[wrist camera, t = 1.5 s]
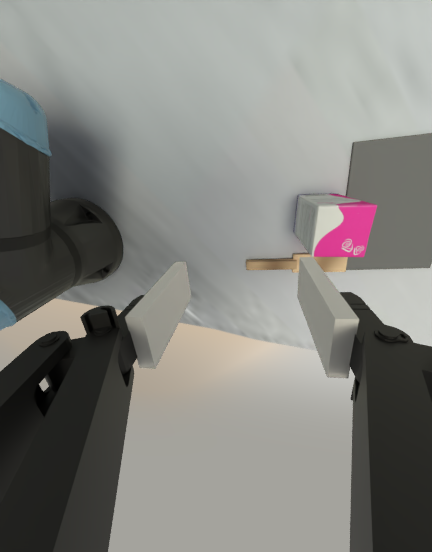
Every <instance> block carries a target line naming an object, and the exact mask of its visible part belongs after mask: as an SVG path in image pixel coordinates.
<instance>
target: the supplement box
mask: <svg viewBox="0 0 432 552" xmlns="http://www.w3.org/2000/svg"><path fill="white" fill-rule="evenodd" d="M376 209H377V205H375V204H372V203H368V202H365V201H361V200H357V199H353V198H350V197H346V196H342V195H339V194H303V195H298V198H297V208H296V216H295V225H294V233H295V234H296V236H297V237H298V239H299V240H300V241H301V243H302V244H303V245H304V247H305V248H306V250H307V251H308V252H309V254H310V255H311V256H312V257H364V255H365V252H366V248H367V243H368V239H369V235H370V231H371V227H372V224H373V220H374V216H375V213H376Z"/></svg>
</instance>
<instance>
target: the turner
mask: <svg viewBox="0 0 432 552" xmlns="http://www.w3.org/2000/svg"><path fill="white" fill-rule="evenodd" d="M300 257H312V256H311V255H310V254H309V253H307V254H293V259H256V260H247V261H246V267H247V270H277V269H292V272H299V260H300ZM313 258H314V259H315V260H316V262H317V263H318V265H319V266H320V267H321V269H322V270H323V271H324V272H346V265H347V259H348V257H313Z"/></svg>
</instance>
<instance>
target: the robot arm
mask: <svg viewBox="0 0 432 552" xmlns="http://www.w3.org/2000/svg"><path fill="white" fill-rule="evenodd" d="M49 156H50V157H51V151H50V150H49V142H48V130H47V119H46V116H45V113H44V111H43V109H42V108H41V106H40V105H39V104H38V102H37V101H36V100H35V99H34V98H32V97H31V96H30V95H29V94H27V93H26V92H24V91H22V90H20V89H19V88H17V87H15V86H13V85H11V84H9V83H7V82H6V81H4V80H2V79H0V330H2V329H3V328H5V327H9V326H12V325H14V324H15V323H16V322H18V321H19V320H21V319H22V318H24V317H26V316H27V315H29V314H30V313H32V312H33V311H35V310H37V309H38V308H40V307H41V306H43V305H44V304H46V303H47V302H49V301H51V300H52V299H54V298H55V297H57V296H59V295H60V294H62V293H63V292H65V291H66V290H68V289H69V288H71V287H73V286H78V285H84V284H89V283H94V282H98V281H101V280H103V279H105V278H106V277H108V276H109V275H111V274H112V273H113V272H114V271H115V270H116V269H117V268H118V267H119V265H120V263H121V260H122V255H123V245H122V239H121V236H120V233H119V231H118V229H117V227H116V225H115V224H114V222H113V221H112V219H111V218H110V217H109V216H108V215H107V214H106V213H105V212H104V211H103V210H102V209H101V208H99V207H98V206H97V205H95V204H93V203H91V202H89V201H86V200H83V199H79V198H67V199H59V200H55V201H53V202H50V172H49ZM297 297H298V300H299V302H300V305H301V308H302V310H303V313H304V316H305V318H306V321H307V324H308V327H309V329H310V332H311V335H312V337H313V340H314V343H315V345H316V348H317V351H318V353H319V356H320V359H321V362H322V364H323V367H324V370H325V372H326V375H327V377H334V378H348V376H349V371H350V367H351V369H352V371H353V373H354V375H355V380H354V385H353V390H352V395H351V400H353V430H352V475H351V476H352V477H351V478H352V479H351V522H350V552H432V347H431V346H426V345H421V344H417V343H413V341H412V339H411V338H410V336H409V335H407V334H406V333H405V332H403V331H401V330H399V329H397V328H395V327H391V326H387V325H384V324H383V323H382V321H381V320H380V319H379V318H378V317H377V316H376V315H375V314H374V312H373V311H372V310H370V308H369V307H368V306H367V305H366V303H365V302H364V301H363V300H362V299H361V298H360V297H358V296H357V295H355V294H353V293H351V292H339V291H338V290H337V289H336V287H335V286H334V285H333V283H332V282H331V281H330V279H329V278H328V277H327V275H326V274H325V273H324V271H323V270H322V269H321V267H320V266H319V265H318V263H317V262H316V260H315V259H314V258H313V257H300V260H299V278H298V295H297ZM190 299H191V291H190V284H189V278H188V271H187V265H186V262H175V263H174V264H173V265H172V266H171V267H170V268H169V269H168V270H167V271H166V273H165V274H164V275H163V276H162V277H161V278H160V279H159V280H158V281H157V282H156V284H155V285H154V286H153V287H152V288H151V289H150V290H149V291H148V292H147V293H146V295H141V296H139V297H137V298H136V299H134V300H133V301H132V302H131V303H130V304H129V306H127V307H126V308H125V309H124V310H123V311H122V312H121V313H120V314H119V315H118V316H117V314H116V311H115V308H114V307H112V306H100V307H96V308H94V309H91V310H89V311H87V312H86V313H84V314H83V315H82V316H81V320H82V323H83V325H84V328H85V330H86V333H87V335H86V337H83V338H78V339H72V340H71V339H70V337H69V334H68V333H67V332H66V331H58V332H51V333H49V334H46V335H45V336H43V337H41V338H39V339H38V340H36V341H35V342H34V343H33V344H31V345H30V346H29V347H28V348H27V349H26V350H25V351H23V352H22V353H21V354H20V355H19V356H18V357H17V358H15V359H14V360H13V361H12V362H11V363H10V364H9V365H8V366H6V367H5V368H4V369H3V370H2V371H1V372H0V552H108V547H109V540H110V533H111V527H112V520H113V513H114V507H115V500H116V493H117V486H118V479H119V473H120V466H121V459H122V453H123V446H124V439H125V432H126V425H127V419H128V412H129V405H130V399H131V392H132V385H133V379H134V369H133V366H132V365H133V363H134V362H135V360H136V359H137V360H138V364H139V367H140V368H152V369H155V368H156V366H157V364H158V363H159V360H160V359H161V356H162V354H163V353H164V351H165V349H166V347H167V345H168V342H169V341H170V339H171V337H172V335H173V333H174V331H175V329H176V327H177V325H178V323H179V321H180V319H181V317H182V315H183V313H184V311H185V309H186V307H187V305H188V303H189V301H190ZM44 378H45V379H46V381H47V382H48V385H49V387H48V388H47V389H46V390H45V391H44V392H43V391H42V389H41V388H40V386H39V383H40V382H41V381H42V380H43V379H44Z"/></svg>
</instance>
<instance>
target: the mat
mask: <svg viewBox="0 0 432 552" xmlns="http://www.w3.org/2000/svg"><path fill="white" fill-rule="evenodd" d="M346 197H350V198H353V199H357V200H361V201H365V202H368V203H372V204H375V205H377V209H376V213H375V216H374V220H373V224H372V227H371V231H370V235H369V239H368V243H367V248H366V252H365V255H364V257H348V259H347V265H346V270H364V269H403V268H430V266H431V263H432V133H430V134H421V135H413V136H404V137H395V138H387V139H378V140H369V141H361V142H354V143H353V146H352V154H351V162H350V170H349V177H348V185H347V193H346Z"/></svg>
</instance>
